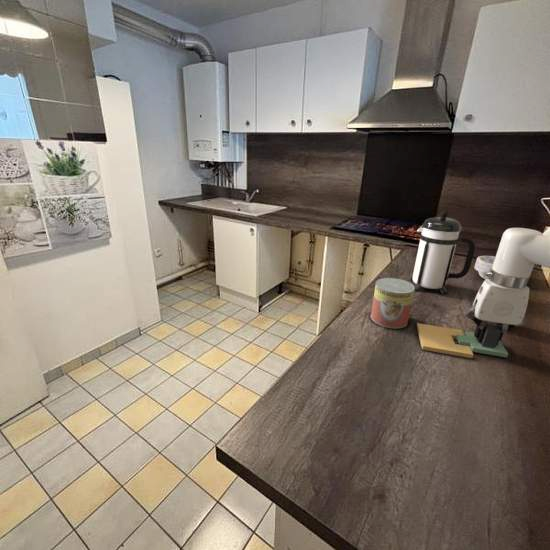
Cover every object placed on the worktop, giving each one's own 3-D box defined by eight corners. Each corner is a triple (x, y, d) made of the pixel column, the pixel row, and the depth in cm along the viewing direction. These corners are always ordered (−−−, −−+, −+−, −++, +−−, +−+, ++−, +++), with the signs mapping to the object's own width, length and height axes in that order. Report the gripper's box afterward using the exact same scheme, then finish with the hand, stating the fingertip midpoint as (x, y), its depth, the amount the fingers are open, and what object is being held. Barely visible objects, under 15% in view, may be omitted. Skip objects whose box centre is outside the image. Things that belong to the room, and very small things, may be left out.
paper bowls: (501, 272, 131) (506, 255, 127) (524, 286, 117) (531, 268, 113) (465, 270, 132) (470, 254, 129) (484, 284, 118) (490, 266, 115)
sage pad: (495, 340, 82) (503, 320, 79) (507, 357, 75) (515, 336, 72) (454, 333, 85) (459, 314, 82) (461, 349, 78) (467, 329, 75)
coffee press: (432, 299, 106) (452, 217, 94) (399, 282, 119) (412, 209, 108) (464, 291, 112) (486, 213, 101) (429, 276, 126) (445, 206, 114)
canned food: (369, 324, 90) (374, 289, 86) (371, 307, 100) (376, 275, 95) (408, 331, 87) (416, 296, 82) (407, 313, 96) (414, 280, 92)
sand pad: (460, 333, 86) (461, 329, 86) (472, 358, 76) (473, 354, 75) (416, 326, 89) (417, 323, 89) (422, 349, 79) (423, 345, 78)
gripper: (474, 280, 71) (455, 342, 78) (556, 289, 66) (528, 355, 73) (466, 269, 77) (449, 328, 84) (540, 277, 73) (515, 338, 80)
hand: (486, 340), depth 79 cm, fingers closed on sage pad, 3 cm apart
